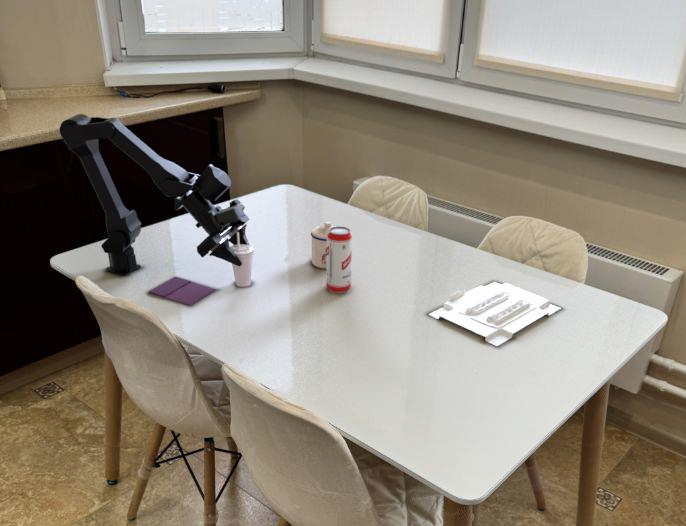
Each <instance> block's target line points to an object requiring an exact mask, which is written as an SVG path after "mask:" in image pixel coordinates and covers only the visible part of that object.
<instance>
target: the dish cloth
mask: <svg viewBox="0 0 686 526" xmlns="http://www.w3.org/2000/svg"><path fill="white" fill-rule="evenodd" d="M216 290H217V289H216V288H212V287H210V286H206V285H203V284H199V283H196V282H192V281H191V280H188V279H185V278H181V277H179V276H174V277H172V278H170V279H168V280H166V281H164V282H163V283H160V284H159V285H157V286H155V287H153V288H151V289H149V290H148V293H149V294H151V295H154V296H157V297H162V298H164V299H168V300H171V301H174V302H178V303H179V304H183V305H186V306H193V305H194V304H195V303H197V302H199V301H200V300H203V299H204V298H205V297H207V296H208V295H210V294H211V293H214V292H216Z"/></svg>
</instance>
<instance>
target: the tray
mask: <svg viewBox="0 0 686 526" xmlns="http://www.w3.org/2000/svg"><path fill="white" fill-rule="evenodd" d="M561 309H562V308H561V307H559V306H556V305H555V304H552V303H551V300H550V299H548V298H545V297H543V296H541V295H537V294H535V293H533V292H530V291H528V290H526V289H523V288H521V287H518V286H515V285H513V284H510V283H507V282H504V283H502V284H501V283H499V282H497V281H493V282H491V283H489V284H487V285H483V284H481V285H478V286H477V287H475V288H473V289H470V290H468V291H467V289H459V290H455V291H453V292H452V293H451V296H449V300H448V301H446V302H444V303H443V306H442V307H440V308H439V309H436V310H434V311H432V312H430V313H428V315H429V316H430V317H433V318H435V319H437V320H439V319H441V318H443V319H445V320H447V321H449V322H451V323H454V324H456V325H458V326H460V327H462V328H464V329H467V330H469V331H471V332H473V333H475V334H477V335H480V336H482V337H485V339H484V340H485V342H486V343H488V344H491V345H493V346H496V347H498V346H500V345H502V344H504V343H505V342H508V340H510V339H512V338H513V335H514V334H515V333H517V332H519V331H520V330H522V329H523V328H525V327H527V326H528V325H531V324H532V323H534V322H536V321H537V320H539V319H540V318H542V317H544V316H551V315H553V314H555V313H556V312H557V311H560V310H561Z"/></svg>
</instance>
